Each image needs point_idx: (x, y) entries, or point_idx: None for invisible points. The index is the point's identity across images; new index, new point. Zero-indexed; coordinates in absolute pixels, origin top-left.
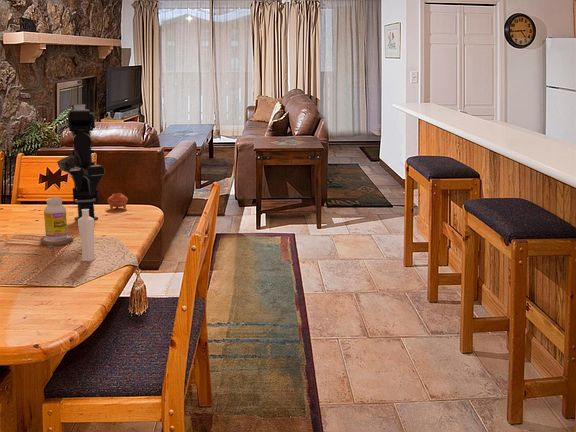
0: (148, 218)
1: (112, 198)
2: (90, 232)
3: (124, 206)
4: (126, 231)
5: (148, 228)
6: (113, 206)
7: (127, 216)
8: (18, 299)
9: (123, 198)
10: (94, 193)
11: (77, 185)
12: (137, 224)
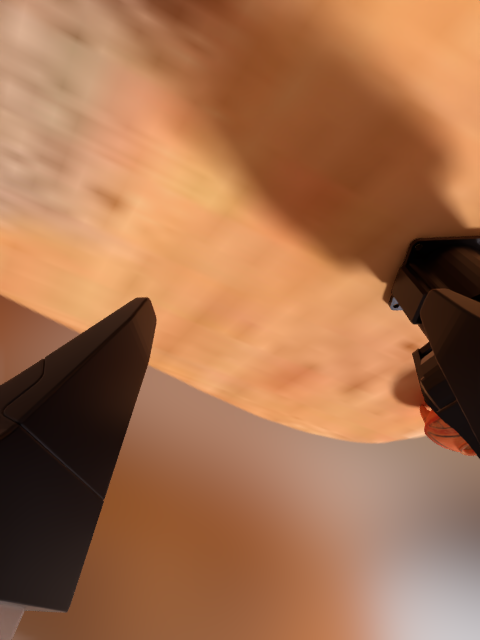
0: (264, 397)
1: None
2: None
3: (422, 412)
4: (142, 295)
5: None
6: None
7: (334, 377)
8: None
9: (436, 437)
10: (421, 384)
11: (467, 332)
12: (216, 355)
